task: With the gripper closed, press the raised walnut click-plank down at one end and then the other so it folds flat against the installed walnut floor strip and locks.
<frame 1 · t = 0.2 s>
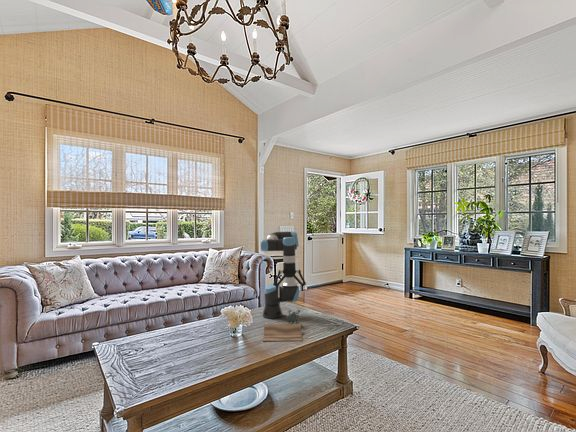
hand: (289, 296, 192), 27 cm above the table, fingers open, 13 cm apart
figurine: (294, 326, 216), on the table
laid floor: (282, 339, 193), on the table
plank: (282, 329, 202), point 3 cm above the table, hinge at 35.0°
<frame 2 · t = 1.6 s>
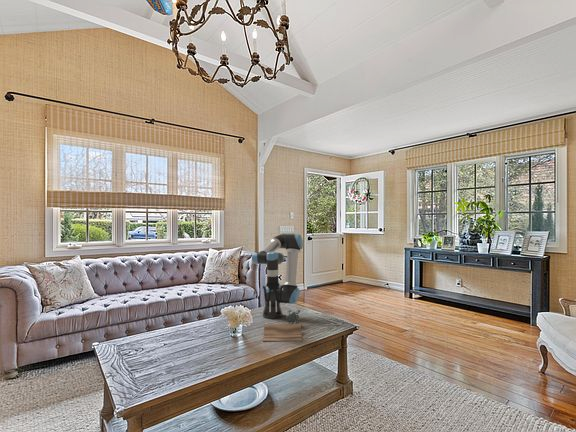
hand: (273, 311, 204), 15 cm above the table, fingers open, 3 cm apart
nothing on the table moved.
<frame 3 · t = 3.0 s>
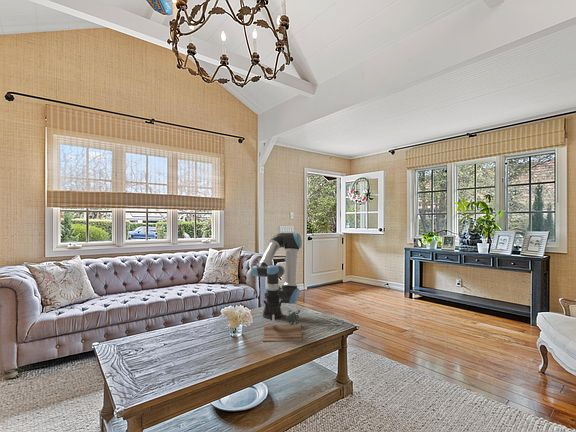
hand: (273, 325, 204), 5 cm above the table, fingers closed
plank: (282, 330, 202), point 3 cm above the table, hinge at 30.8°, touching gripper
everything else where it was.
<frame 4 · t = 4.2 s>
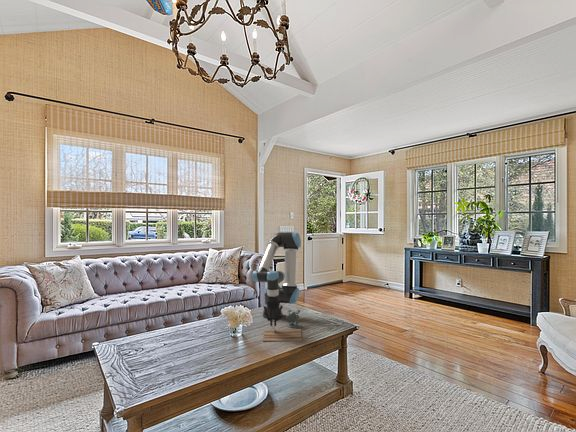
hand: (273, 330, 204), 2 cm above the table, fingers closed
plank: (282, 332, 203), point 1 cm above the table, hinge at 3.0°, touching gripper
everything else where it was.
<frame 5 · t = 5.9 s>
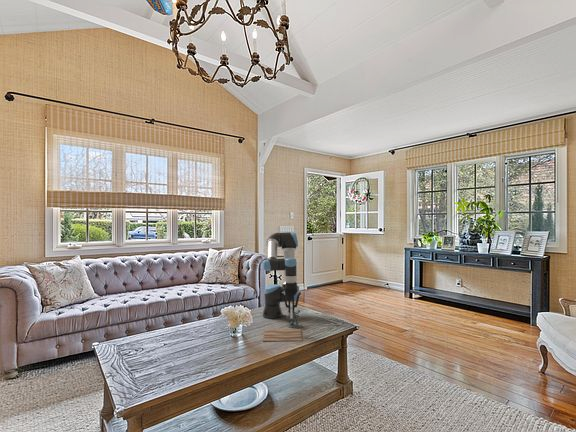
hand: (291, 317, 204), 10 cm above the table, fingers closed
plank: (282, 332, 203), point 1 cm above the table, hinge at 3.0°
everything else where it was.
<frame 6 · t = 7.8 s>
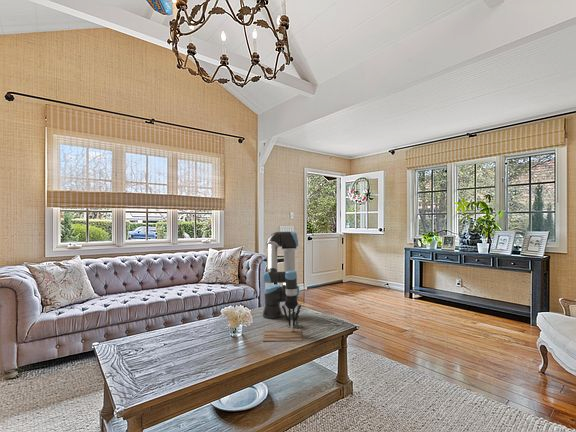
hand: (291, 330, 204), 2 cm above the table, fingers closed
plank: (282, 332, 203), point 1 cm above the table, hinge at 3.0°, touching gripper
everything else where it was.
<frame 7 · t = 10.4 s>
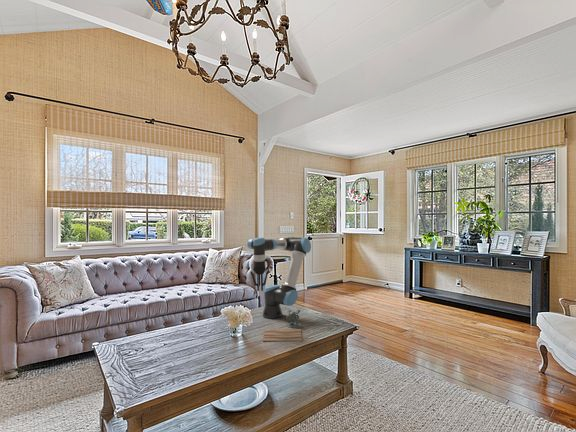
hand: (260, 295, 210), 24 cm above the table, fingers closed
plank: (282, 332, 203), point 1 cm above the table, hinge at 3.0°
everything else where it was.
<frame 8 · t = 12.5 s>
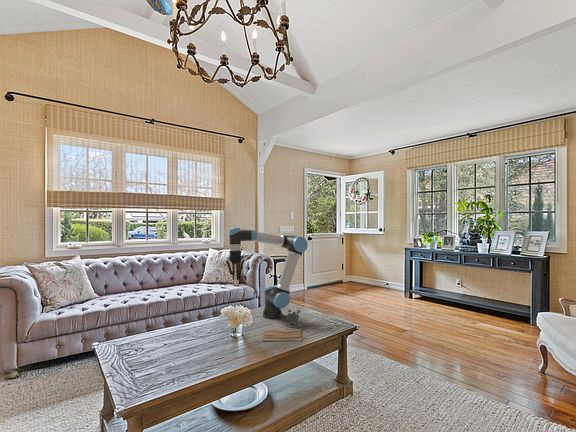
hand: (235, 284, 214), 30 cm above the table, fingers closed
nothing on the table moved.
at the end: plank at +3° (first picture: +35°) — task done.
